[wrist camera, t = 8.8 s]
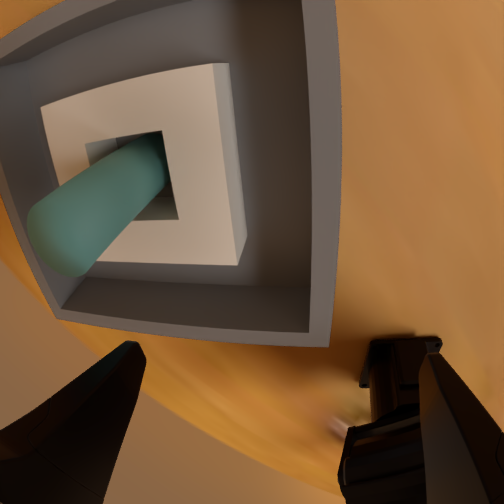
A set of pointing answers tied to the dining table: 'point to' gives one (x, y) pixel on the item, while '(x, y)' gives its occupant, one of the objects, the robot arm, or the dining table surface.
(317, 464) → the dining table surface
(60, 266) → the peg
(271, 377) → the dining table surface
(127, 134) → the box
